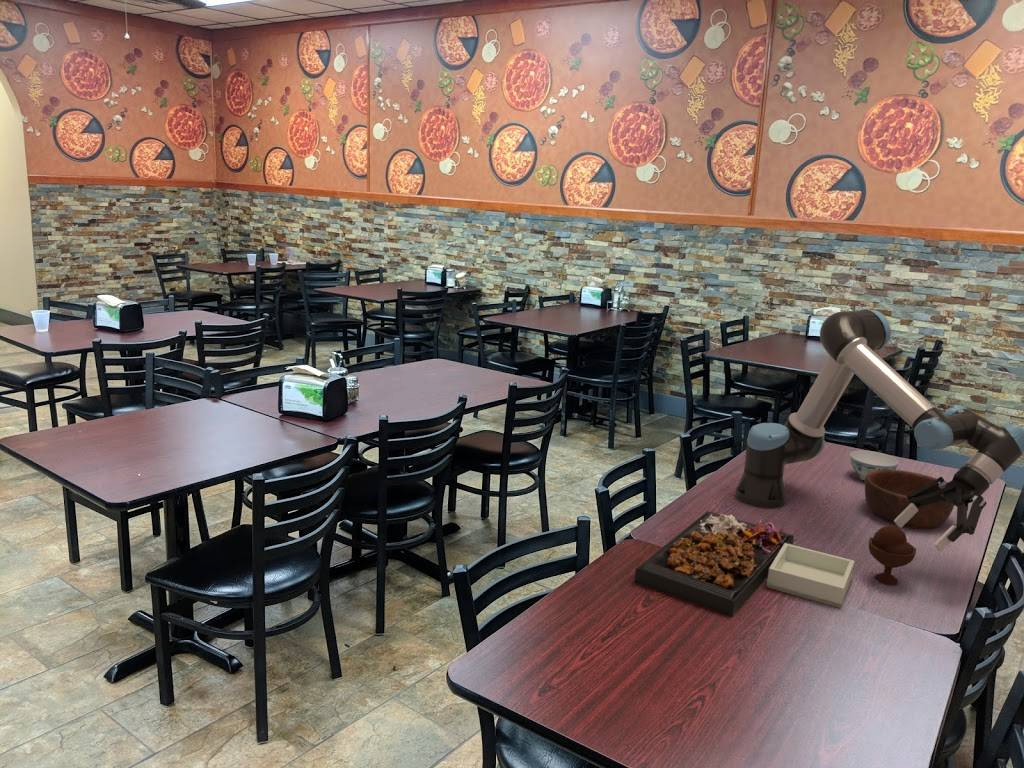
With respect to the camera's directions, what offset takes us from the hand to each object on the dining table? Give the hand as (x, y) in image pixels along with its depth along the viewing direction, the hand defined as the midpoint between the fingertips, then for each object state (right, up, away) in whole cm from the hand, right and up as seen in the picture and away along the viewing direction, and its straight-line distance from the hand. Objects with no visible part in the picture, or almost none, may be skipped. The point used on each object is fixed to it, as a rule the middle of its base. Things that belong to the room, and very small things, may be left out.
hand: (916, 536), depth 198 cm
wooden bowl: (+19, -2, +44) cm, 48 cm away
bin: (-27, -11, -1) cm, 29 cm away
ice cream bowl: (-6, -12, +3) cm, 14 cm away
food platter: (-47, -9, +7) cm, 49 cm away
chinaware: (+21, +5, +73) cm, 76 cm away
